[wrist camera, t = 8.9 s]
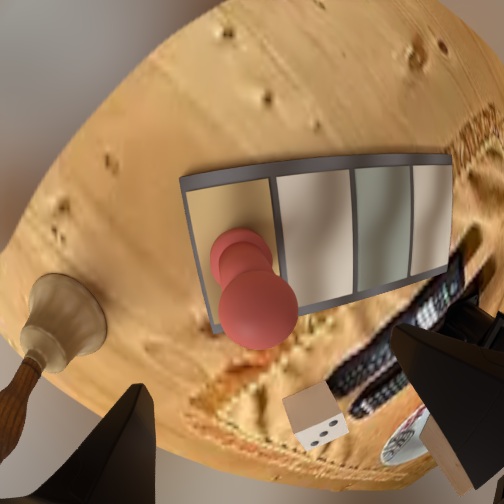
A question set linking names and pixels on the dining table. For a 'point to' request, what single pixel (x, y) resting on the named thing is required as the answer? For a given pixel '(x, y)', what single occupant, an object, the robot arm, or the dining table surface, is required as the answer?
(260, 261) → the pawn
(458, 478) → the wooden block
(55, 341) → the hand bell
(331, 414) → the die
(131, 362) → the dining table surface
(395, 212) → the board
